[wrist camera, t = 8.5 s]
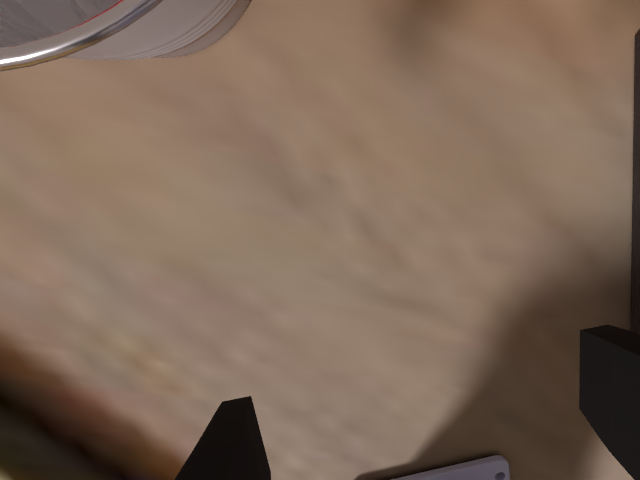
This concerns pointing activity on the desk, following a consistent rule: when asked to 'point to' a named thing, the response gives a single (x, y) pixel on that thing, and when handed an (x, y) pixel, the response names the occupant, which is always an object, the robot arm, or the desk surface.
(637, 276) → the plate with square hole
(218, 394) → the desk surface
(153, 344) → the desk surface
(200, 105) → the desk surface
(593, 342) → the robot arm
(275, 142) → the desk surface
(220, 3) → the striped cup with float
